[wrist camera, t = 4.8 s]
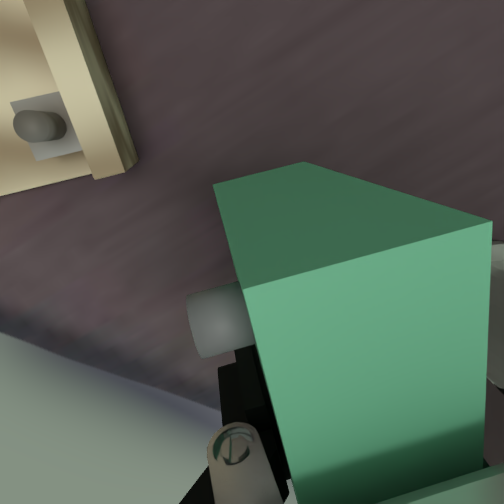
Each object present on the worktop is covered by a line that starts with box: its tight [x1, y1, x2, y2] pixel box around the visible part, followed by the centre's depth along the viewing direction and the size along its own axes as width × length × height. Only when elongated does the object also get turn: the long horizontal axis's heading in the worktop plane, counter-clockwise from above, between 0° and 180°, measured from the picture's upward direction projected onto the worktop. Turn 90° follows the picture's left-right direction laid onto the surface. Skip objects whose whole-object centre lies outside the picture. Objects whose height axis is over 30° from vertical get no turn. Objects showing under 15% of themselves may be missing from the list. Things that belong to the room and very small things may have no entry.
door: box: [186, 162, 493, 504], centre depth 10 cm, size 12×4×8 cm, turn 12°
